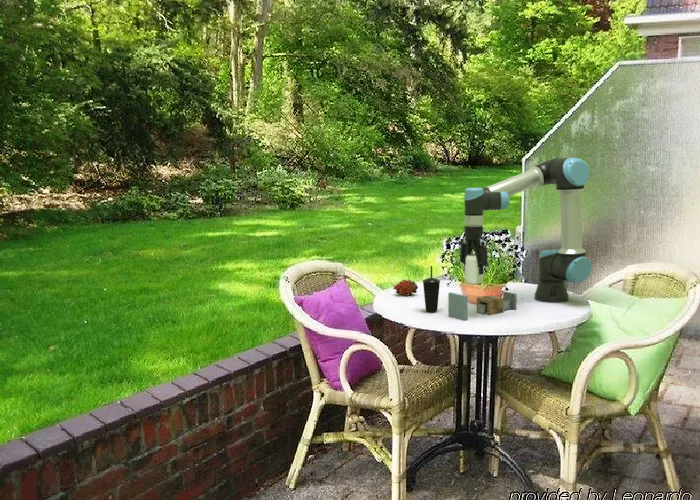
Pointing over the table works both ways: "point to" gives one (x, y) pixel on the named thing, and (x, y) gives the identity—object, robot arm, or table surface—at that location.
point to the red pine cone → (406, 287)
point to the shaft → (508, 302)
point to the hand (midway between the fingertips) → (473, 280)
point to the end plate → (458, 306)
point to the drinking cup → (431, 293)
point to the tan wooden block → (491, 304)
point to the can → (471, 269)
